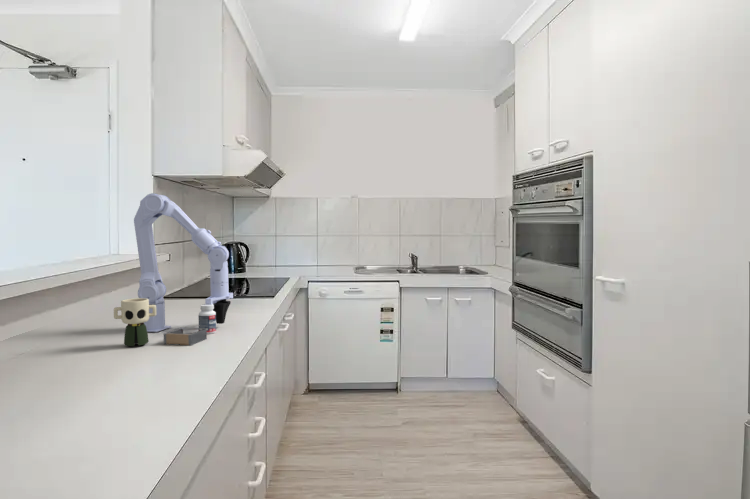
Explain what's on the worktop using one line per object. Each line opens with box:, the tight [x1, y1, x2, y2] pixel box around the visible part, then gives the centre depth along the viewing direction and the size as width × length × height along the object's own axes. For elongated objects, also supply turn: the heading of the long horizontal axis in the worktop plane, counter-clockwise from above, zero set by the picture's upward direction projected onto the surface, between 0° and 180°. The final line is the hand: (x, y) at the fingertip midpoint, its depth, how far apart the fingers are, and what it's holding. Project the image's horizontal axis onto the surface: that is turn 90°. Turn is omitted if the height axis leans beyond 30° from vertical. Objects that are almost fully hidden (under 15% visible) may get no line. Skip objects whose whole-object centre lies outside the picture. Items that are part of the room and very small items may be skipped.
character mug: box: [113, 297, 157, 347], centre depth 141 cm, size 11×7×13 cm, turn 114°
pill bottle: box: [197, 303, 217, 335], centre depth 157 cm, size 5×5×9 cm
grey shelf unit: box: [163, 327, 208, 346], centre depth 146 cm, size 9×8×3 cm
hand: (220, 323), depth 165 cm, fingers closed
